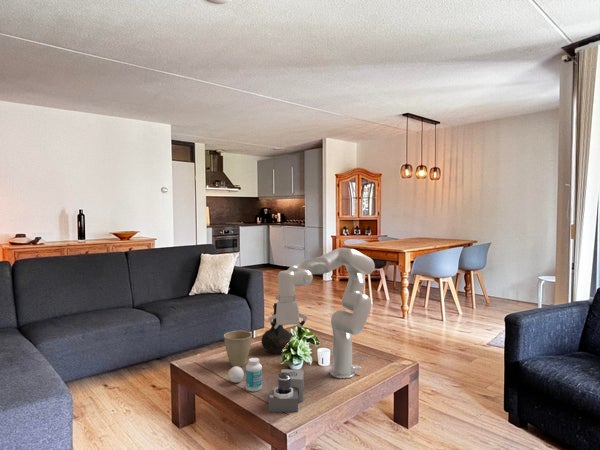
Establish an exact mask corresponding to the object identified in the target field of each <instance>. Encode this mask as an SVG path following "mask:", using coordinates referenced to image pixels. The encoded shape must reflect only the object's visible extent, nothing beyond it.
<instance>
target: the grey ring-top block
mask: <svg viewBox="0 0 600 450" xmlns="http://www.w3.org/2000/svg"><path fill="white" fill-rule="evenodd" d="M297 412H299V402H298V389H293V388H291V387H290V393H288V394H279V393H278V386H276V387H275V388H274V389H269V394H268V413H297Z"/></svg>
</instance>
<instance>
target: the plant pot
mask: <svg viewBox="0 0 600 450" xmlns="http://www.w3.org/2000/svg"><path fill="white" fill-rule="evenodd" d="M223 338H224V346H225V351H226V354H227V355H226V356H227V358H228V360H229V363H230V366H231V367H235V366H238V367H240V368H242V367H243V366H245V365H246V363H247V360H248V356H249V354H250V349H251V345H252V339H253V333H252V332H250V331H247V330H233V331H228V332H225V333H224V334H223Z"/></svg>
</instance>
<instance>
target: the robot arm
mask: <svg viewBox="0 0 600 450" xmlns="http://www.w3.org/2000/svg"><path fill="white" fill-rule="evenodd" d="M342 266H344V267H345V269H346V271H347V274H348V281H347V285H346V287H345V289H344V292H343V295H342V298H341V302H340V303H341V306H342V307H343V308H344V309H346V310H349V311H352V312H348V311H345V310H341V309H340V310H336V311H334V312H333V314H332V316H331V319H330V322H331V329H332V351H333V352H332V358H333V359H332V360H333V361H332V368H331V369H329V374H330V375H331V376H332V377H334V378H336V379H342V378H343V379H345V378H346V379H351V378H353V377H355V375H356V372H362V369H363V368H362V366H359V364H358V365H356V364H355V365H354V364H353V336H357V335H359V334H361V333H362V331H363V329H364V328H365V325H366V324H367V320H368V317H369V314H370V311H371V308H372V300H371V298H370V296H369V295H367V294H365V293H364V292H363V291H364V289H365V285H366V281H365V277H364V276H365V275H366V276H367V275H371V274H373V272H374V270H375V267H376V265H375V262H374V260H373V258H371V257H369V256H367V255H366V254H364V253H362V252H360V251H359V250H357V249H354V248H349V247H338V248H335V249H332V250H331V251H329V252H327V253H325V254H322V255H320V256H319V257H318V256H317V257H314V258H310V259H306V260H303V261H300V262H297V263H295V264H294V265H292V266H290V267H289V268H288V269H287V270H280V271H279V272H278V274H277V275H278V276H277V282H278V286H277V287H278V295H277V296H276V295H275V300H278V301H277V302H276V303H277V309H276V314H275V315H274V314H273V315H271V316H270V317H268V322H269V324H270V325H271V327H272V326H273V327H274V328H275V335H277V337H278V326H279V325H283V326H288V325H290V326H292V325H296V326H297V336H298V337H300V336H301V335H302V327H303V326H304V324H305V323H306V321H307V319H308V317H307V316H306V315H304V314H302V313H300V307H299V304H298V301H297V299H296V297H297V296H296V287H305V286H308V285H310V284H311V283H312V281H313V279H314V277H313V275H324V274H328V273H330V272H332V271H334V270H336V269H338V268H340V267H342ZM275 318H276V324H275V323H274V322H273V319H275ZM300 318H301V319H302V320H301V321H300ZM352 335H353V336H352ZM343 379H342V380H343Z"/></svg>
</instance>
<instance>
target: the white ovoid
mask: <svg viewBox="0 0 600 450" xmlns="http://www.w3.org/2000/svg"><path fill="white" fill-rule="evenodd" d="M244 374H245V372H244V370H243V368H242V367H238V366H235V367H233V366H231V368H230V369H229V370H228V374H227V376H228V379H229V380H230V382H232V383H239V382H241V381H242V380H243V378H244Z"/></svg>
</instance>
